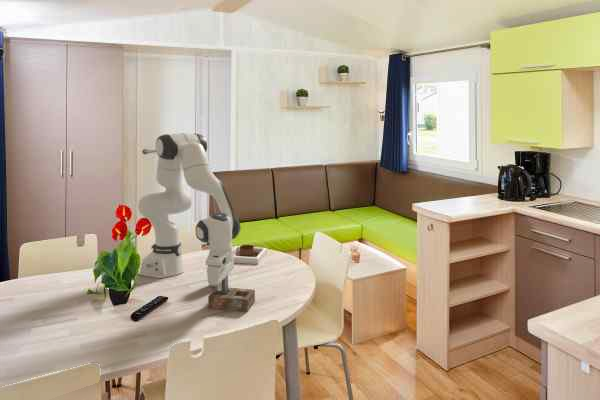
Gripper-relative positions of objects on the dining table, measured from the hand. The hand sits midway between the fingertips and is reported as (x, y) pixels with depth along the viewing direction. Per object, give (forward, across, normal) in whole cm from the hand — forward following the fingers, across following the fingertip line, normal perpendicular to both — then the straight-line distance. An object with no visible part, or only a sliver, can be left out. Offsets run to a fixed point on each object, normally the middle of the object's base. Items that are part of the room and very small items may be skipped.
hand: (222, 287), depth 178 cm
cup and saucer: (+7, -58, -8) cm, 59 cm away
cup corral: (+7, -58, -8) cm, 59 cm away
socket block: (+7, 0, +4) cm, 8 cm away
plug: (+4, 0, 0) cm, 4 cm away
